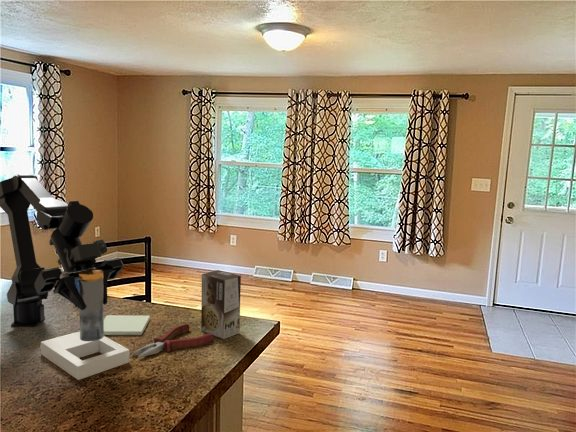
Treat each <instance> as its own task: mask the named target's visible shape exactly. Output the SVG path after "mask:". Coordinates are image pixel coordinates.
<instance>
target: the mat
mask: <svg viewBox="0 0 576 432" xmlns="http://www.w3.org/2000/svg"><path fill="white" fill-rule="evenodd" d="M150 320H151V315H111V314H110V315H108V314H107V315H106V316H104V336H142V335H143V334H144V332H145V329H146V328H147V327H148V324H149V322H150Z"/></svg>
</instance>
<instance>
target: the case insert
mask: <svg viewBox="0 0 576 432" xmlns="http://www.w3.org/2000/svg"><path fill="white" fill-rule="evenodd" d="M97 353H100V354H99V355H96V356H92V357H89V358H86V359H83V360H82V359H80V358H84V357H87V356H89V355H93V354H97ZM40 354H41V355H42V356H43V357H44V358H46V359H48V360H49V361H51V362H52V363H53V364H54V365H56V366H57V367H59V368H60V369H62V370H63V371H65V372H66V373H67V374H68V375H70V376H71V377H73V378H75V380H77V381H79V380H83V379H85V378H89V377H91V376H94V375H96V374H99V373H102V372H106V371H107V370H110V369H113V368H117V367H119V366H123V365H125V364H128V363H130V349H128V348H127V347H126V346H123V345H121V344H119V343H118V342H116V341H114V340H112V339H110V338H109V337H107V336H106V335H104V337H103V338H102V339H100V340H96V341H82V340H81V339H80V330H79V331H75V332H72V333H69V334H65V335H60V336H57V337H52V338H50V339H46V340H42V341H40Z"/></svg>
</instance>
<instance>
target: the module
mask: <svg viewBox="0 0 576 432" xmlns="http://www.w3.org/2000/svg"><path fill="white" fill-rule="evenodd" d="M79 294H80V296H81V299H82V301H83V304H84V307H85V308H84V309H83V310H81V309H79V331H80V339H81V340H82V341H96V340H100V339H102V338H103V337H104V336H105V335H104V318H105V314H104V312H105V311H104V306H105V305H104V295H103V271H101V270H86V271H82V272H80V273H79Z"/></svg>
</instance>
